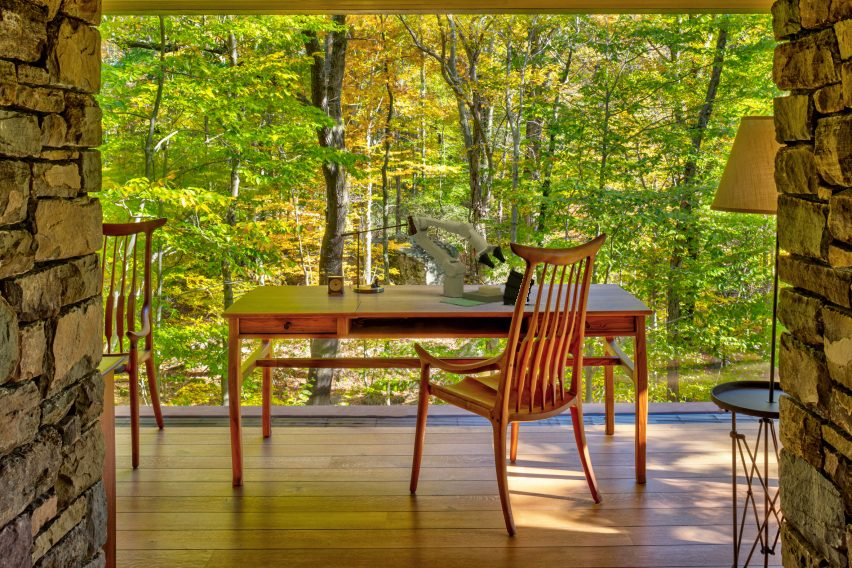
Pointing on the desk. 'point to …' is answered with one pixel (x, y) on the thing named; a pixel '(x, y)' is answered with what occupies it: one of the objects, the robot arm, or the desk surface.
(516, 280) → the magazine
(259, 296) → the desk surface
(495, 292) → the tile
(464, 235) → the robot arm
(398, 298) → the desk surface
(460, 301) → the mat
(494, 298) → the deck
